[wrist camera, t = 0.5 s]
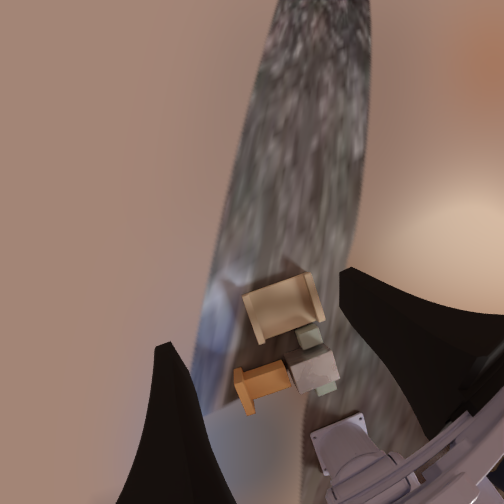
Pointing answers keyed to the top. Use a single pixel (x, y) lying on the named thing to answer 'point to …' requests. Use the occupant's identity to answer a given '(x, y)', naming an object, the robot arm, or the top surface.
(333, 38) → the top surface
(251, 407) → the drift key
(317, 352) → the grey block
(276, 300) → the tan flat bracket
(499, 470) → the canister
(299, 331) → the socket
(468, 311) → the robot arm
